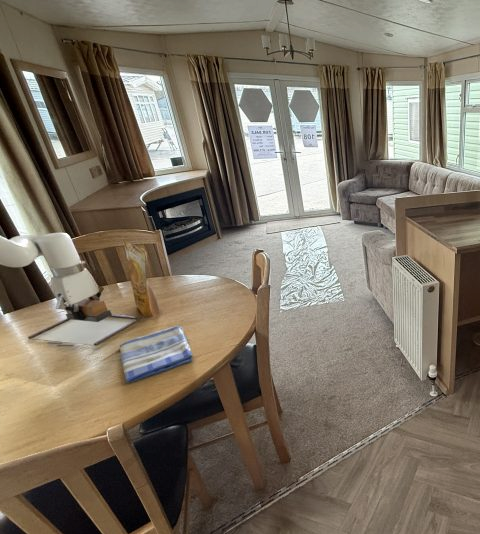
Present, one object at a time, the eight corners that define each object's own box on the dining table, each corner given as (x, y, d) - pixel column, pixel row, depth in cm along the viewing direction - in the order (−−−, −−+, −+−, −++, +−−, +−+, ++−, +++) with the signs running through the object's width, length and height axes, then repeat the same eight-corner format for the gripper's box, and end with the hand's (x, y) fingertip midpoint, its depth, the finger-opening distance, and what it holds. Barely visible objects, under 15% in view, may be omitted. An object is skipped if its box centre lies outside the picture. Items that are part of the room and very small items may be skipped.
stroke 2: (59, 347, 112) (57, 348, 112) (58, 344, 112) (56, 346, 111) (75, 346, 113) (73, 348, 112) (74, 344, 112) (72, 346, 112)
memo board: (29, 340, 115) (27, 336, 114) (83, 314, 131) (81, 311, 130) (97, 348, 113) (95, 344, 112) (144, 320, 128) (142, 317, 127)
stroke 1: (50, 344, 114) (47, 345, 113) (49, 341, 113) (46, 343, 113) (64, 345, 114) (61, 346, 113) (63, 342, 113) (60, 344, 112)
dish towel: (183, 329, 124) (180, 322, 123) (196, 360, 108) (193, 353, 107) (120, 348, 113) (117, 341, 112) (125, 386, 97) (121, 379, 96)
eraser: (67, 319, 120) (60, 304, 117) (82, 312, 124) (76, 297, 122) (97, 322, 118) (91, 307, 116) (112, 314, 123) (105, 300, 120)
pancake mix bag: (154, 299, 143) (131, 236, 131) (168, 315, 132) (146, 248, 121) (133, 305, 138) (108, 240, 126) (147, 322, 127) (121, 253, 116)
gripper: (85, 259, 122) (104, 302, 129) (27, 279, 106) (52, 328, 114) (103, 260, 121) (121, 304, 128) (48, 281, 105) (72, 329, 113)
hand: (89, 315), depth 121 cm, fingers closed on eraser, 5 cm apart
